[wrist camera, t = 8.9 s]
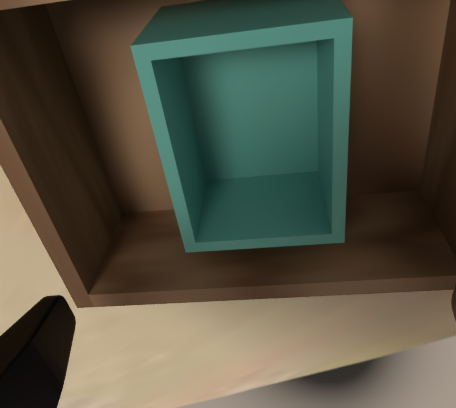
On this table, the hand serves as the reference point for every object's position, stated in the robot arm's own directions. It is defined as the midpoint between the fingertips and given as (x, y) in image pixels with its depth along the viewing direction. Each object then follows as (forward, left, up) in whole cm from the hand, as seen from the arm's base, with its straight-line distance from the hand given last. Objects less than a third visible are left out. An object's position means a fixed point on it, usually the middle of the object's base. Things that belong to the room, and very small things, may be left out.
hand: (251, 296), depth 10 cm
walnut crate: (0, 0, -12) cm, 12 cm away
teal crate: (0, 0, -11) cm, 11 cm away
